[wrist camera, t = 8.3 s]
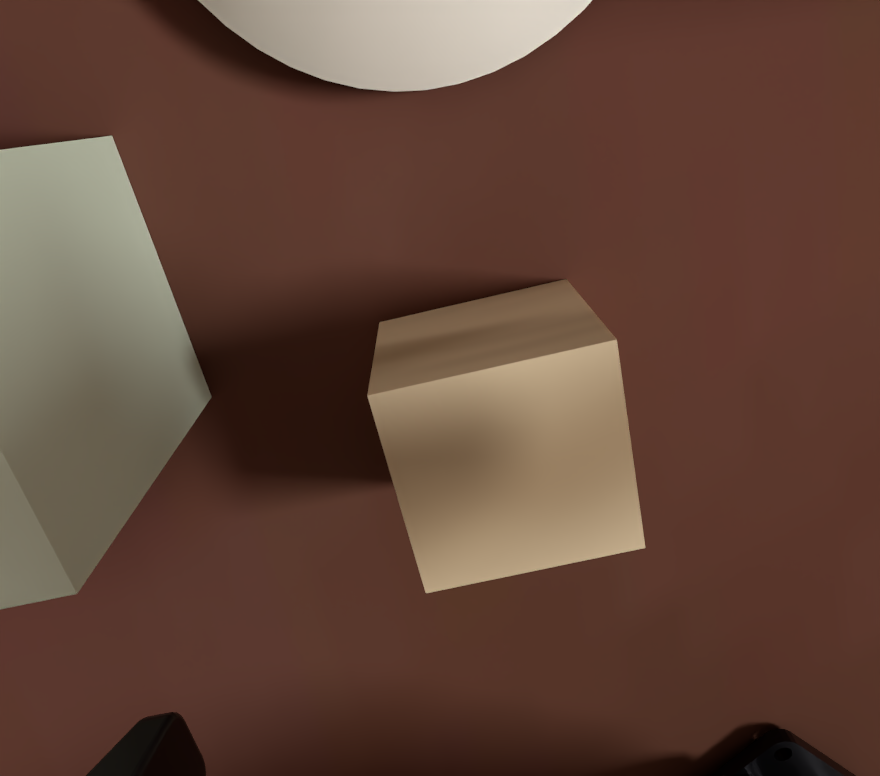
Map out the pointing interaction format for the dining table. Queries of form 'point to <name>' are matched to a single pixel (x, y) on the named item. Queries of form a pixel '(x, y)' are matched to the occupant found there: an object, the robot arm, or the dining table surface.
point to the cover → (81, 364)
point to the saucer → (396, 36)
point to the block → (506, 435)
